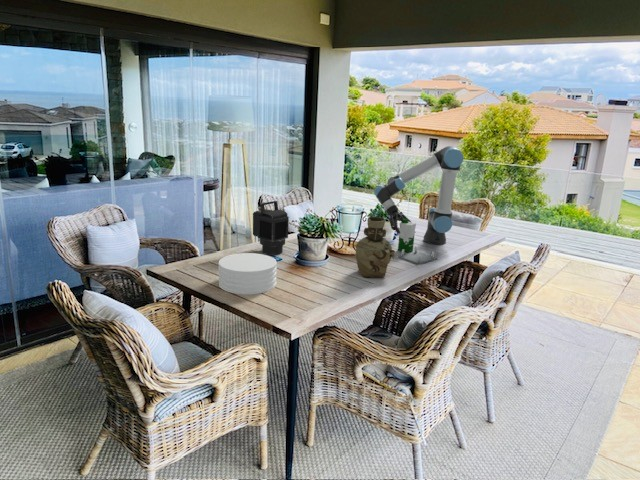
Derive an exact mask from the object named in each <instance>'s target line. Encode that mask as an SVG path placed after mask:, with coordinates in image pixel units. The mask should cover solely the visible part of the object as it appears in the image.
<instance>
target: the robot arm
mask: <svg viewBox="0 0 640 480" xmlns="http://www.w3.org/2000/svg"><path fill="white" fill-rule="evenodd" d="M463 162H464V154H463V152H462V151H461V149H459V148H458V147H454V146H450V145H449V146H445V147H444V148H443V147H442V148H441V149H439V150H438V151H436V152H435V153H433V154H432V156H430V157H428V158H427V159H424V160H423V161H421V162H419V163H417V164H415V165H413V166H412V167H410V168H408V169H406V170H405V171H402V172H400V173H399V174H397V175H395V176H391V177H389V178H388V179H387V185H386V186H384V185H382V184H381V185H379V186H377V187H376V188H374V189H373V194H374V196H375V197H376V199H377V200H378V202H379V203H380V205H381V204H382V205H381V206H382V208H383V207H384V208H383V210H384V211H385V213H386V214H387V219H388V220H389V224H390V228H391V230H393V231H395V232H396V233H397V235H398V237H399V236H400V238H403V237H404V234H403V233H402V231H401V230H400V226H399V227H398V221H400V223H401V222H402V219H408V222H412V220H411V219H409V218H408V217H407V216H406V215H405V213H403V212H402V211H400V212H399V208H398V206H397V205H396V203H395V202H394V199H392V197H393V196H394V195H396V194H397V193H399V192H400V191H402V190H403V189H404V188H406V184H408V183H410V182H411V181H413V180H415V179H417V178H418V177H420V176H422V175H424V174H426V173H428V172H430V171H432V170H433V169H436V168H440V170H442V172H441V173H442V174H441V179H440V186H439V192H438V200H437V205H436V207H431V208H429V210H428V219H427V228H426V232H425V234H424V236H423V239H422V240H423V242H425V243H428V244H433V245H444V244H446V243H447V237H446V233H448V232H449V231H450V230H451V229H452V227H453V220H452V219H453V218H452V217H453V211H452V210H451V209H452V205H453V204H452V202H453V198H454V197H453V196H454V190H455V185H456V179H457V173H458V172H459V171H460V169H461V165H462V163H463ZM415 234H416V231H415Z"/></svg>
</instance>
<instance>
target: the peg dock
mask: <svg viewBox="0 0 640 480" xmlns="http://www.w3.org/2000/svg"><path fill="white" fill-rule="evenodd" d="M396 257H397V258H398V259H400V260H403V261H406V262H408V263H412V264H415V265H418V266H419V265H423V264H427V263H430V262H434V261H437V260H438V257H436V256H435V251H431V254H430V255H429V254H426V253H423V252H419V251H418V245H415V246H414V251H411V252H408V253H405V252H404V249H402V251H401V255H397V256H396Z"/></svg>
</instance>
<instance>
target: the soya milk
mask: <svg viewBox="0 0 640 480" xmlns="http://www.w3.org/2000/svg"><path fill="white" fill-rule="evenodd" d="M408 219H409V218H408ZM408 219H402V222H401V221H400V222H399V228H400V230H401V231H402V233H403V234H404V237H403V238H400V236H399V235H398V243H397V244H398V245H397V251H399V252H402V249H404V253H406V254H408V253H411V252H414V245H415V243H414V242H415V234H416V233H415V232H416V226H417V223H416V222H413V221H411V222H408Z"/></svg>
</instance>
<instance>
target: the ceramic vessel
mask: <svg viewBox="0 0 640 480" xmlns="http://www.w3.org/2000/svg"><path fill="white" fill-rule="evenodd" d="M366 221H367V227H365V228H364V229H363V234H364V237H363V238H361V239H359V240H358V242H357V243H356V246H355V258H356V259H355V261H356V265H357V269H358V273H359V275H361V277H363V278H377V279H380V278H384V277H385V276H386V274H387V269H388V265H389V264H390V261H391V259H393V260H394V259H395V258H396V257H395V256H396V254H395V253H396V251H395V249H393V247H392V244H391V243H390V241H388V240H387V238H385V237H386V236H387V235H386V234H387V230H386V229H384V227H385V223H386V219H385V218H383V217H380V216H379V217H378V216H369V217H367V219H366Z"/></svg>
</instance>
